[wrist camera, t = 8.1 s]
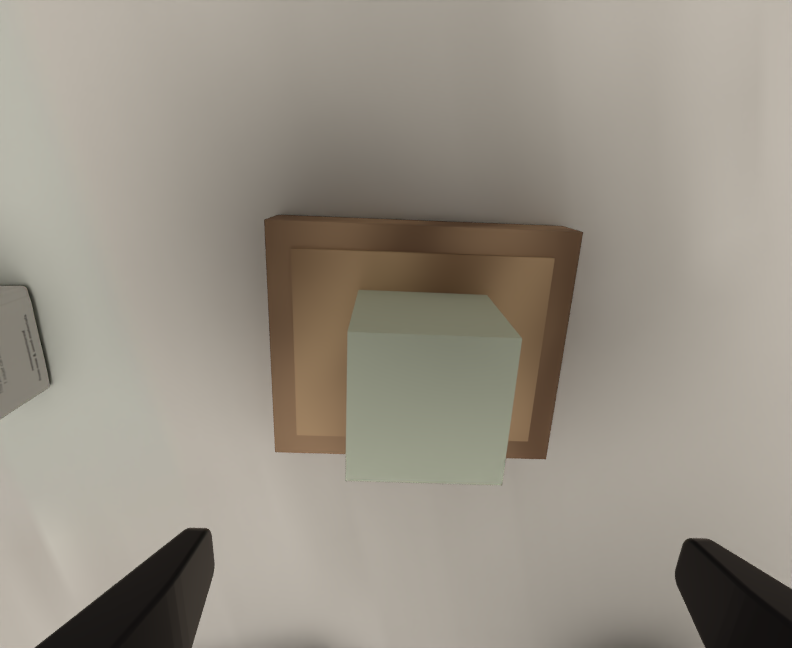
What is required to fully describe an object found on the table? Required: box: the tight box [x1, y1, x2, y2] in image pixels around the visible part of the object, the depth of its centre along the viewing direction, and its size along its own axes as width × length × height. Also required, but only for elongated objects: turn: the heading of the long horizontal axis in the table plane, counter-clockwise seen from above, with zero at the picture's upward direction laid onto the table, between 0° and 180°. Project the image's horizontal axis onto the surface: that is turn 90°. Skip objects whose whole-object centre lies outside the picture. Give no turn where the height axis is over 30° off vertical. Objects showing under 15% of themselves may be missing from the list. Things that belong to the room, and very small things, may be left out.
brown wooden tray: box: [264, 215, 583, 459], centre depth 20 cm, size 12×10×2 cm
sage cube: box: [345, 290, 522, 485], centre depth 16 cm, size 5×5×5 cm
